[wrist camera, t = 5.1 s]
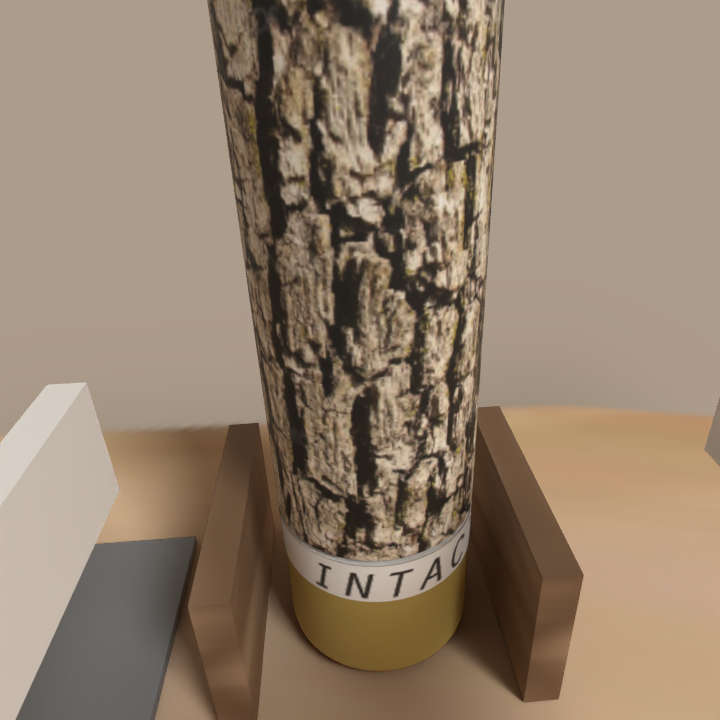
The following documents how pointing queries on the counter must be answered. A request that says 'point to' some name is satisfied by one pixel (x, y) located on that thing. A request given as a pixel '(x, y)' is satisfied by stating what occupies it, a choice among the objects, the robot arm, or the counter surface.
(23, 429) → the robot arm
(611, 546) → the counter surface
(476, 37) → the paper tube
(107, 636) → the mat
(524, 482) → the board
